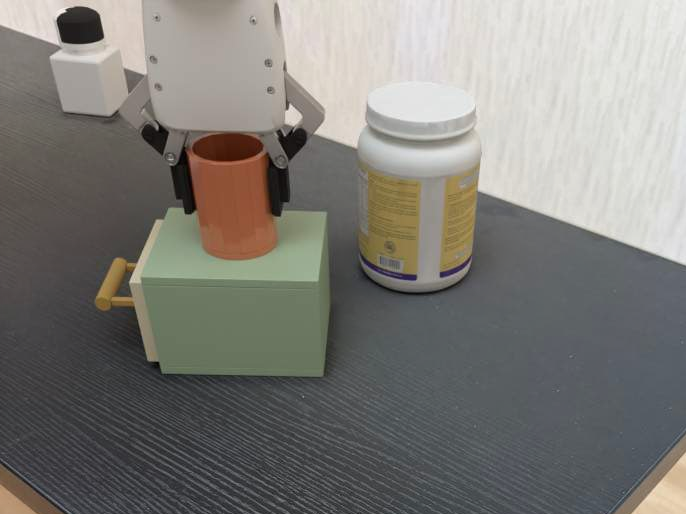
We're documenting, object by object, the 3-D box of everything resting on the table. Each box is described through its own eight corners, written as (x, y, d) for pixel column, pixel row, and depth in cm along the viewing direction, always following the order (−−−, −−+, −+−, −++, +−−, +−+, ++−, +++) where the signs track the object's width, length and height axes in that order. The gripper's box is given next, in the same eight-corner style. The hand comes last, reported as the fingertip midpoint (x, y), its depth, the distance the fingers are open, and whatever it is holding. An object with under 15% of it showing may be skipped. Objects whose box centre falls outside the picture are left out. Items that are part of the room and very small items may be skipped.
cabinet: (161, 374, 73) (139, 276, 66) (186, 300, 81) (168, 207, 74) (323, 377, 73) (318, 280, 66) (330, 303, 82) (326, 211, 75)
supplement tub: (449, 235, 93) (461, 73, 80) (487, 289, 85) (506, 119, 72) (346, 247, 90) (342, 81, 78) (375, 303, 82) (375, 129, 70)
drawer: (100, 360, 72) (77, 281, 67) (128, 294, 80) (110, 217, 75) (297, 364, 73) (291, 286, 67) (306, 298, 81) (302, 223, 75)
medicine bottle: (130, 100, 118) (111, 4, 109) (110, 117, 113) (88, 19, 104) (84, 95, 119) (62, 0, 110) (62, 112, 114) (36, 14, 105)
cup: (195, 259, 68) (178, 162, 62) (207, 223, 73) (193, 129, 67) (273, 261, 68) (264, 165, 62) (281, 225, 73) (273, 132, 67)
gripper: (332, -56, 58) (339, 192, 71) (89, -65, 57) (141, 186, 70) (326, -30, 53) (335, 232, 66) (59, -39, 52) (121, 226, 65)
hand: (235, 206), depth 68 cm, fingers closed on cup, 6 cm apart
